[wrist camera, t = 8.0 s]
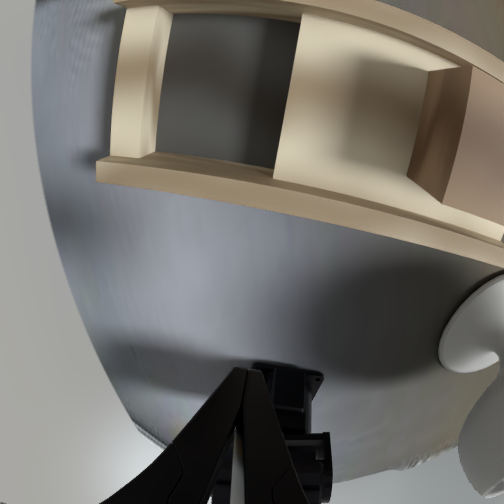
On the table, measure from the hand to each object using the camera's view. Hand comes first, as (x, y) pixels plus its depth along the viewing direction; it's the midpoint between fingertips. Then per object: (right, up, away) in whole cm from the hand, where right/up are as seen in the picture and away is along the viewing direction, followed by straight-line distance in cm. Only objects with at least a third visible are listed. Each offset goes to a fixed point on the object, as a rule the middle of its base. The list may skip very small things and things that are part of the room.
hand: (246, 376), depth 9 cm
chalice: (+22, -3, +12) cm, 26 cm away
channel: (+5, +12, +7) cm, 15 cm away
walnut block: (+12, +10, +4) cm, 16 cm away
